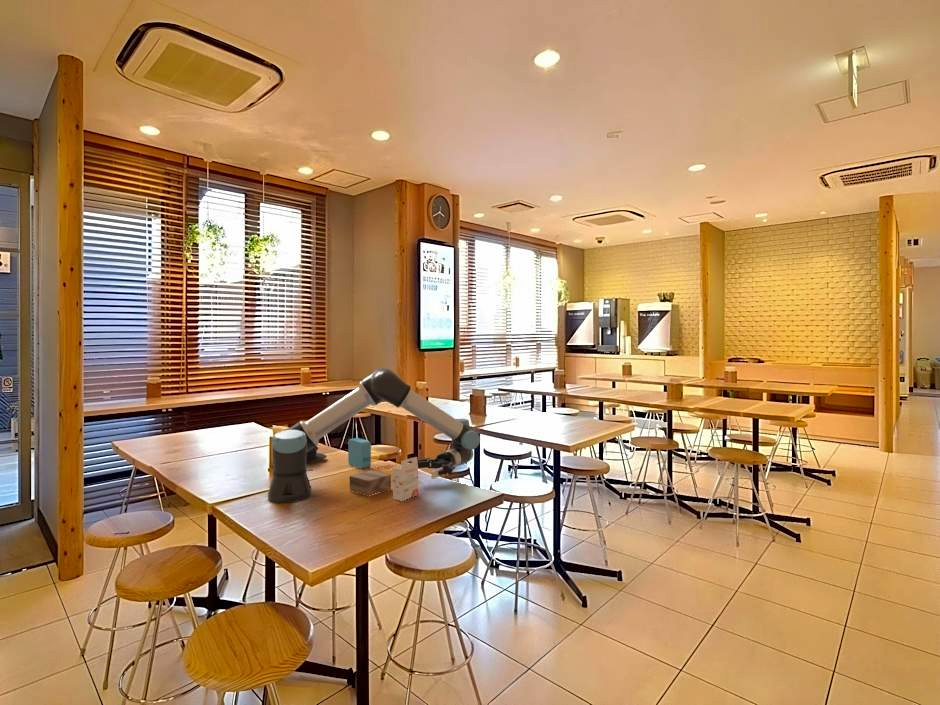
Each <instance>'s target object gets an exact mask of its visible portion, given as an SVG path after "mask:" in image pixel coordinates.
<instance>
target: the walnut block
mask: <svg viewBox="0 0 940 705" xmlns="http://www.w3.org/2000/svg"><path fill="white" fill-rule="evenodd" d="M388 489H391V490H392V474H390V473H387V472H382V471H377V470H373V469H370V470H366V471H362V472H359V473H358V472H357V473H355V474H351V475H349V491H350V490H351V491H350V492H352V491H354V492H353V493H355V492H358V493H357V494H359V493H361V494H360V495H362V494H365V495H368V496H369V495H372V494H375V493H378V492H381V493H383V492H382V491H385V490H388ZM388 491H389V490H388ZM385 492H386V491H385ZM378 494H379V493H378ZM365 495H364V496H365ZM375 495H376V494H375ZM368 496H367V497H368ZM372 496H373V495H372ZM369 497H370V496H369Z"/></svg>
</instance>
